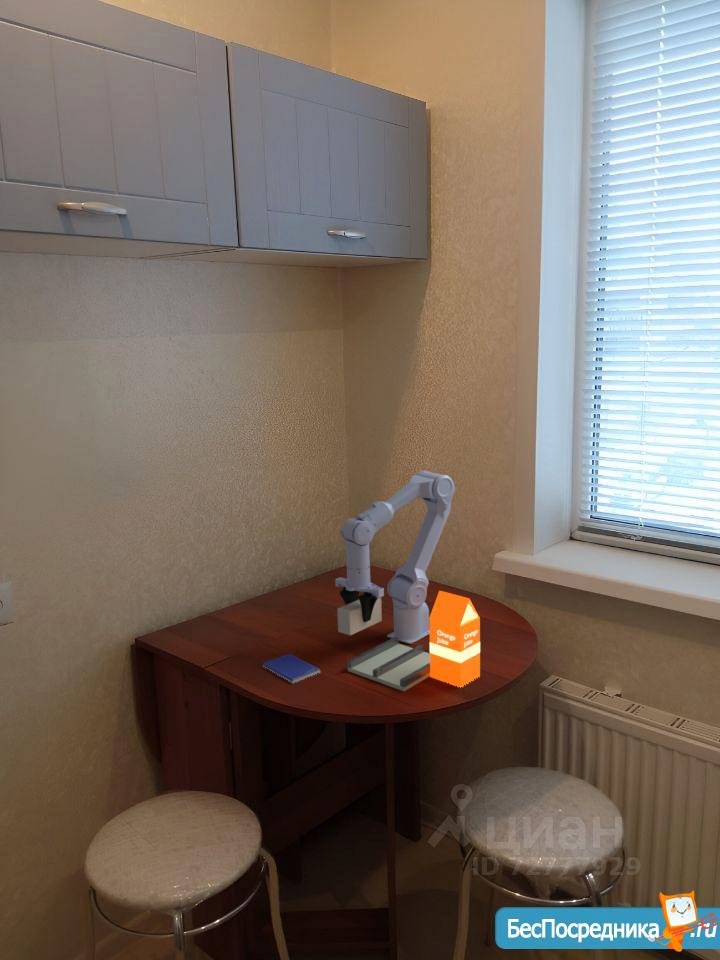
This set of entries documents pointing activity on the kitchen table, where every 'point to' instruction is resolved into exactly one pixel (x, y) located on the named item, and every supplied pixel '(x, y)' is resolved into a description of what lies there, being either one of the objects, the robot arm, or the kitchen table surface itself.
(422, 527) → the robot arm
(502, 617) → the kitchen table surface
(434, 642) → the orange juice
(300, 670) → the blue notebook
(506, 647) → the kitchen table surface
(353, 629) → the clay bar
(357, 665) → the rack
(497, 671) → the kitchen table surface
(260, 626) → the kitchen table surface
